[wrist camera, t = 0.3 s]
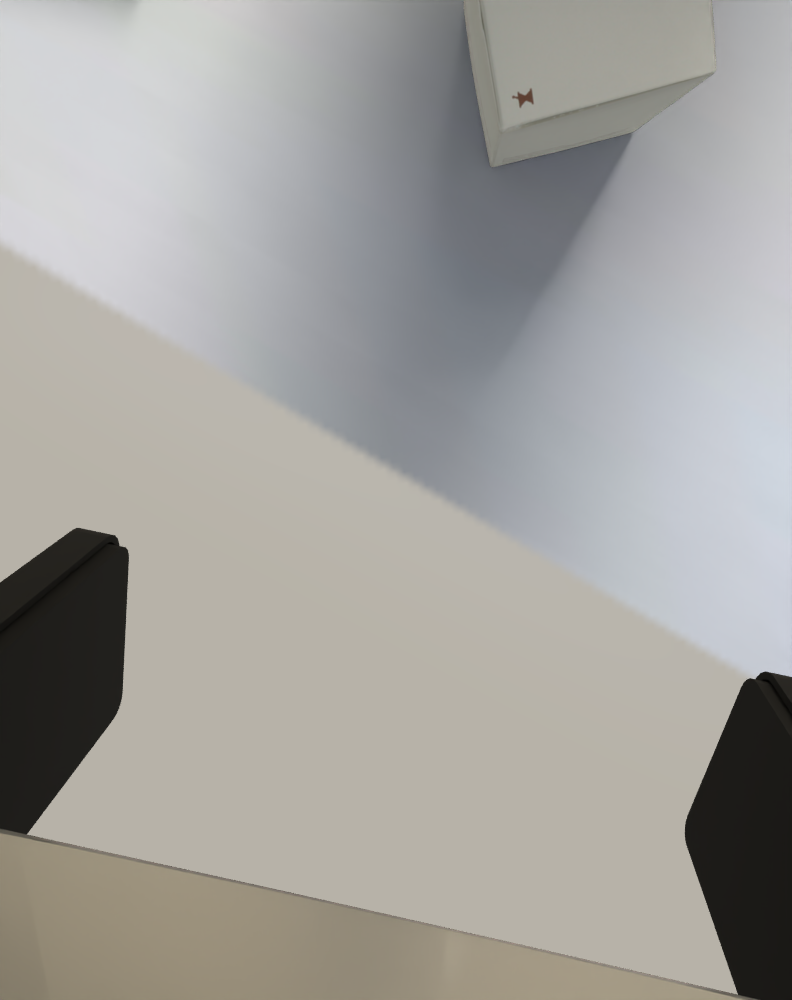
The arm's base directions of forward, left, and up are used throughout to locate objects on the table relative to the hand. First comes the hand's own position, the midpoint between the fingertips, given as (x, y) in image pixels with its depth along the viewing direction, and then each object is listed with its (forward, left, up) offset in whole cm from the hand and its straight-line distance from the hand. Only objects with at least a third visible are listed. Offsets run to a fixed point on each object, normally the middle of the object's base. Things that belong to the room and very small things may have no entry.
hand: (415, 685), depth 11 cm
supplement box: (-14, +1, -31) cm, 34 cm away
